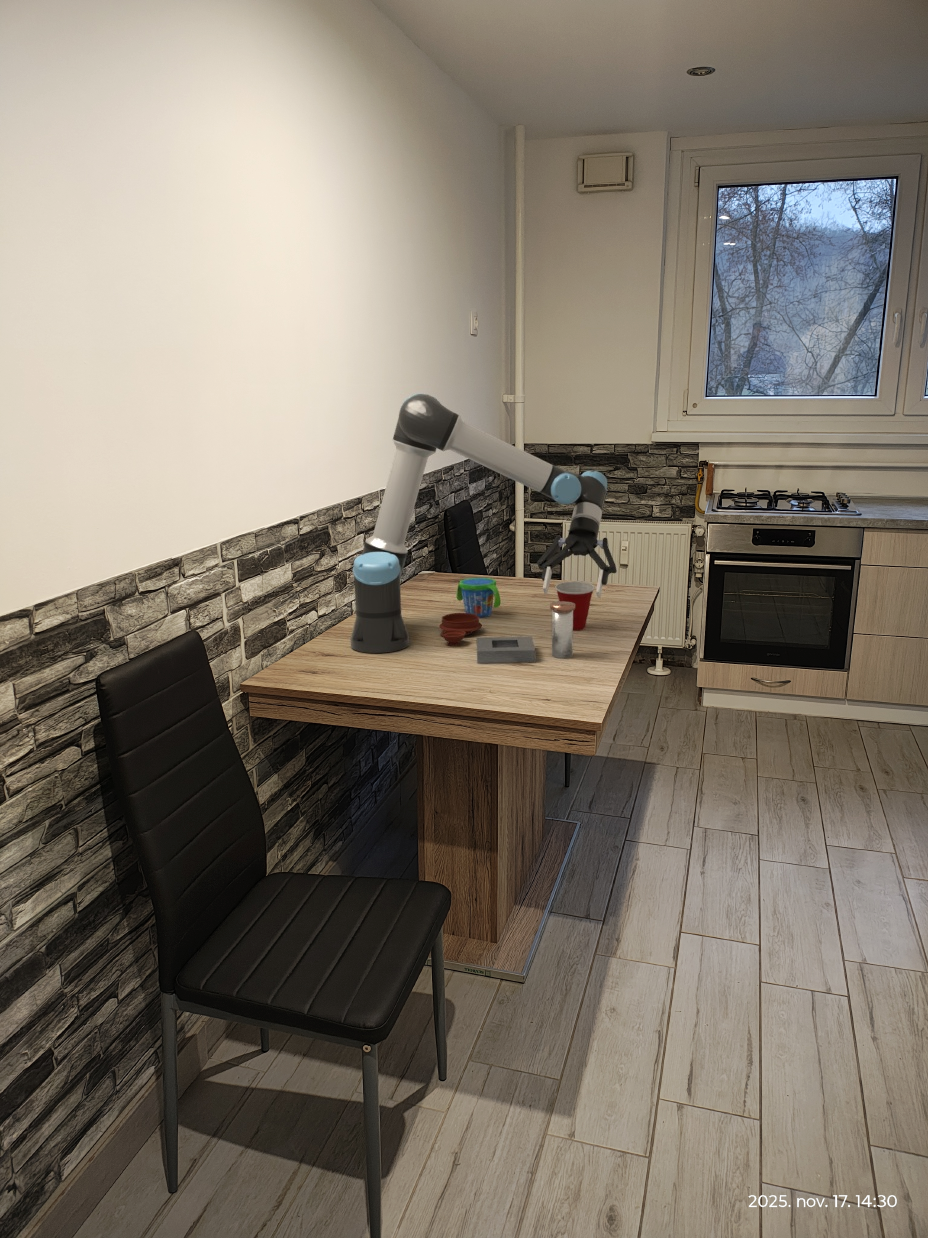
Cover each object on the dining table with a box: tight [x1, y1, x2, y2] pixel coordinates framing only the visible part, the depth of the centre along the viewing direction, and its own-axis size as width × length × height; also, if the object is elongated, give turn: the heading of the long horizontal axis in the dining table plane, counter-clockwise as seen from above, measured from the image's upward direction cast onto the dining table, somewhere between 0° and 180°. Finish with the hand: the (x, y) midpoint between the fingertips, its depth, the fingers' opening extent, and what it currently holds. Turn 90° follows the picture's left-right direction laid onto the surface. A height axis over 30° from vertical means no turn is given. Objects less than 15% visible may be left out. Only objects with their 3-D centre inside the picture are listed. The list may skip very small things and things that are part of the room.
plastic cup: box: [554, 580, 596, 631], centre depth 242 cm, size 11×11×12 cm
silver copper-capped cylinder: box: [549, 600, 575, 659], centre depth 218 cm, size 6×6×13 cm
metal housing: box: [475, 636, 536, 664], centre depth 220 cm, size 14×12×3 cm
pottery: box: [438, 612, 483, 646], centre depth 237 cm, size 12×20×4 cm, turn 171°
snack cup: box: [456, 577, 502, 619], centre depth 258 cm, size 16×10×10 cm
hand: (571, 592), depth 223 cm, fingers open, 13 cm apart
